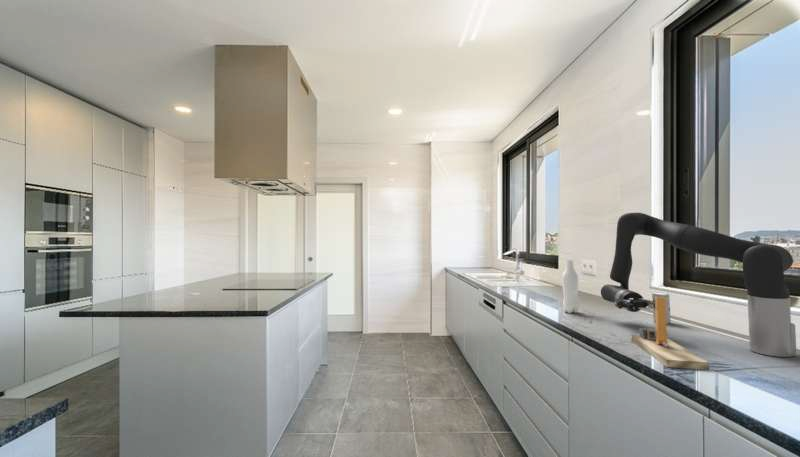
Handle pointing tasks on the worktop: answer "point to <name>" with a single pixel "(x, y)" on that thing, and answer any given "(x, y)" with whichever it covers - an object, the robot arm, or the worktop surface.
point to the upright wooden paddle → (660, 322)
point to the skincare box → (668, 318)
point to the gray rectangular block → (644, 333)
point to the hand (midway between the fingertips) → (646, 308)
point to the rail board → (671, 354)
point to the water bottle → (570, 288)
